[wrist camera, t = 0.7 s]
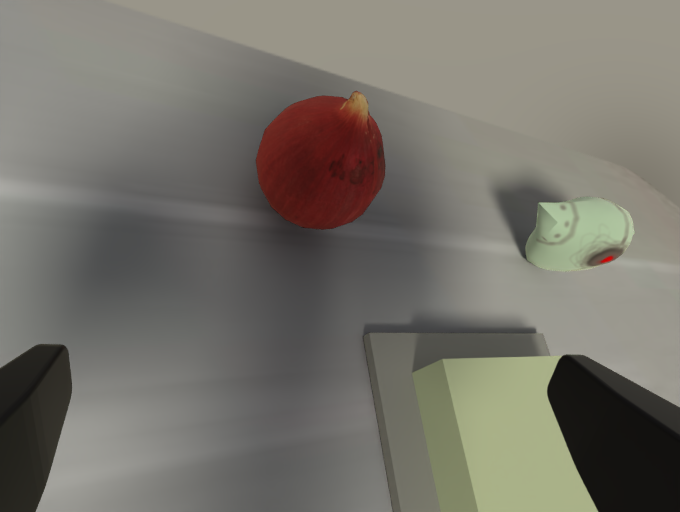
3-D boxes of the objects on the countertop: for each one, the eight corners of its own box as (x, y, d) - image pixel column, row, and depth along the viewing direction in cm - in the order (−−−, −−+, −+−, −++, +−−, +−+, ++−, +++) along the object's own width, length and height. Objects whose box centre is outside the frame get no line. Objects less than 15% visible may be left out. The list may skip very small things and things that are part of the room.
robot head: (562, 240, 36) (650, 189, 31) (583, 293, 34) (680, 249, 29) (479, 231, 32) (563, 171, 27) (497, 290, 30) (591, 239, 25)
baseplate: (609, 568, 25) (667, 571, 23) (414, 635, 20) (464, 648, 17) (535, 336, 30) (576, 319, 28) (363, 336, 25) (396, 315, 22)
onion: (357, 208, 28) (445, 115, 22) (308, 278, 25) (396, 190, 18) (275, 141, 28) (341, 25, 21) (212, 203, 24) (270, 86, 18)
